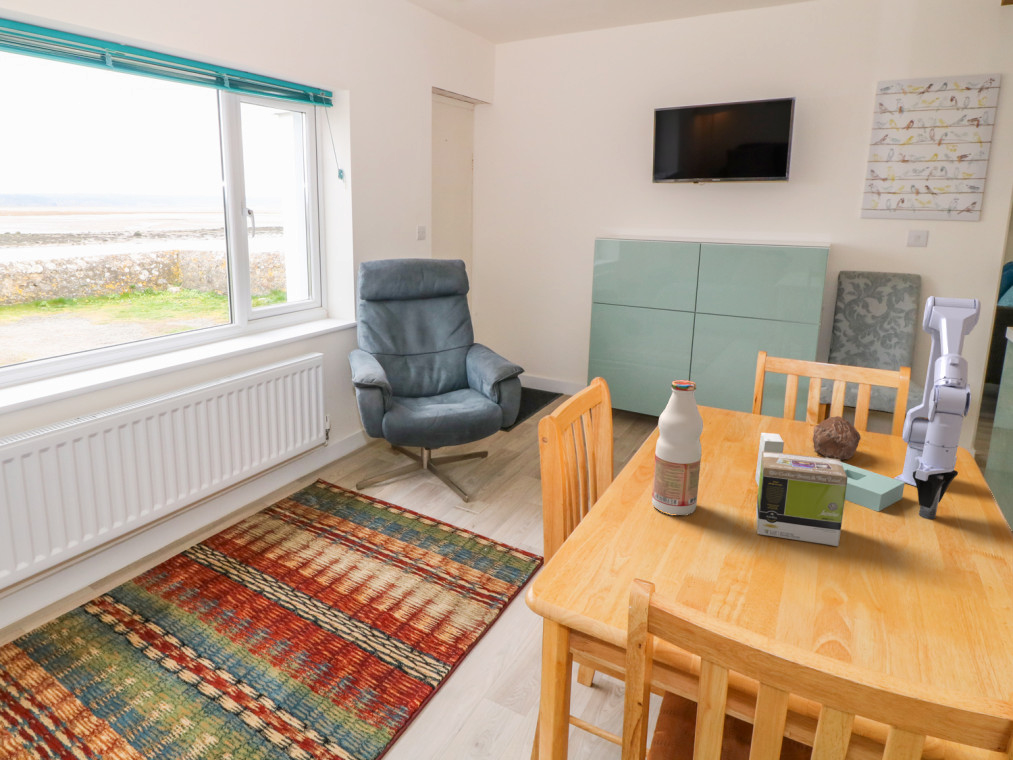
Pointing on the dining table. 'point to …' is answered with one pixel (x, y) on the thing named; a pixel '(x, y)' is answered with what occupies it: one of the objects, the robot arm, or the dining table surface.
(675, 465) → the fruit juice
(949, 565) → the dining table surface
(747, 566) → the dining table surface
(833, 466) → the tea box
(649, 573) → the dining table surface
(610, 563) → the dining table surface
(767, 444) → the skincare box
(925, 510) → the metal peg
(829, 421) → the decorative rock
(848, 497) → the hole block
